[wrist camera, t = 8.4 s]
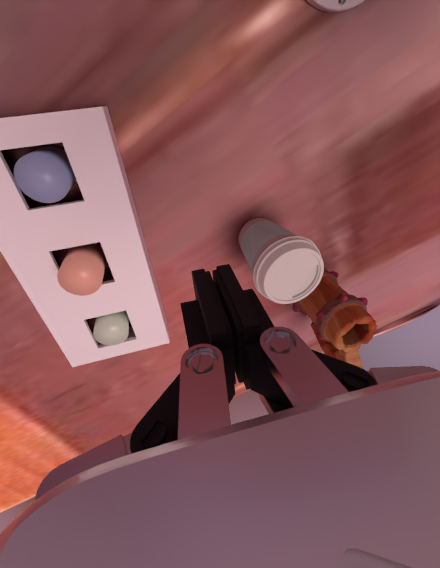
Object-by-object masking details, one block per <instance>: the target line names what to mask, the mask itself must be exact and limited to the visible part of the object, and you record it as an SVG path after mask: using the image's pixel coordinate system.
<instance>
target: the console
mask: <svg viewBox="0 0 440 568" xmlns="http://www.w3.org/2000/svg"><path fill="white" fill-rule="evenodd" d="M60 142H62V143H63V146H64V148H65V151H66V154H67V156H68V159H69V161H70V164H71V167H72V169H73V172H74V175H75V177H76V180H77V183H78V185H79V188H80V190H81V193H82V196H83V198H84V200H79V201H73V202H67V203H61V204H55V205H49V206H42V207H36V208H29V206H28V204H27V202H26V200H25V198H24V196H23V194H22V192H21V190H20V188H19V186H18V185H17V183H16V180H15V178H14V177H13V175H12V173H11V171H10V169H9V167H8V165H7V163H6V161H5V159H4V157H3V155H2V153H1V151H0V251H1V253H2V255H3V256H4V258H5V259H6V261H7V263H8V264H9V266H10V267H11V269H12V271H13V272H14V274H15V275H16V277H17V279H18V280H19V282H20V284H21V285H22V287H23V288H24V290H25V292H26V293H27V295H28V296H29V298H30V300H31V301H32V303H33V304H34V306H35V308H36V309H37V311H38V312H39V314H40V316H41V317H42V319H43V320H44V322H45V324H46V325H47V327H48V329H49V330H50V332H51V333H52V335H53V337H54V338H55V340H56V341H57V343H58V345H59V346H60V348H61V349H62V351H63V353H64V354H65V356H66V357H67V359H68V361H69V362H70V364H71V365H72V367H75V366H79V365H83V364H87V363H91V362H95V361H99V360H103V359H107V358H111V357H115V356H119V355H123V354H127V353H131V352H135V351H139V350H143V349H147V348H151V347H155V346H159V345H163V344H167V343H170V340H169V333H168V326H167V320H166V317H165V313H164V309H163V306H162V302H161V298H160V295H159V291H158V288H157V284H156V280H155V277H154V273H153V270H152V266H151V262H150V259H149V255H148V251H147V248H146V244H145V241H144V237H143V233H142V230H141V226H140V222H139V219H138V215H137V212H136V208H135V204H134V201H133V197H132V194H131V190H130V186H129V183H128V179H127V175H126V172H125V168H124V165H123V161H122V157H121V154H120V150H119V146H118V143H117V139H116V136H115V132H114V128H113V125H112V121H111V118H110V114H109V110H108V107H107V106H102V107H93V108H85V109H76V110H67V111H59V112H50V113H41V114H32V115H24V116H15V117H6V118H0V150H6V149H14V148H22V147H29V146H37V145H45V144H52V143H60ZM97 242H100V243H101V246H102V248H103V251H104V254H105V256H106V259H107V262H108V264H109V267H110V269H111V272H112V275H113V277H114V280H110V281H105V282H102V285H101V287H100V288H99V290H97V291H96V292H95V293H93V294H90V295H85V296H79V295H74V294H71V293H69V292H67V291H66V290H64V289H63V288H62V287H61V286H60V284H59V282H58V279H57V274H58V271H59V269H60V268H59V266H58V264H57V262H56V260H55V258H54V256H53V254H52V252H51V251H55V250H60V249H65V248H71V247H76V246H81V245H87V244H92V243H97ZM121 311H126V312H127V314H128V317H129V320H130V322H131V325H132V327H129V333H128V337H127V339H126V340H125V341H124V342H122V343H120V344H117V345H111V346H109V345H103V344H101V343H99V342H98V341H96V339H95V338H94V336H93V334H92V332H91V330H90V328H89V326H88V324H87V322H86V319H90V318H95V317H99V316H104V315H108V314H112V313H117V312H121Z"/></svg>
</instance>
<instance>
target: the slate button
mask: <svg viewBox="0 0 440 568" xmlns="http://www.w3.org/2000/svg"><path fill="white" fill-rule="evenodd" d="M14 177H15V180H16V183H17V185H18V186H19V188H20V189H21V190H22V191H23V192H24V193H25V194H26V195H27V196H28V197H30V198H32V199H34V200H36V201H39V202H42V203H54V202H57V201H60V200H61V199H63V198H64V197H65V196H66V194H67V193H68V192H69V190H70V189H71V188H72V186H73V185H74V184H75V182H76V177H75V175H74V172H73V169H72V167H71V164H70V161H69V159H68V156H67V154H66V152H65V151H63V150H62V149H60V148H57V147H53V146H45V147H41V148H39V149H37V150H35V151H33V152H30V153H28V154H26V155H24V156H22V157H21V158H20V159H19V160H18V161H17V162H16V164H15V167H14Z"/></svg>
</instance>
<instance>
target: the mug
mask: <svg viewBox="0 0 440 568" xmlns="http://www.w3.org/2000/svg"><path fill="white" fill-rule="evenodd" d="M337 277H338V273H337V272H333V271H332V272H328V271H327V270H324V272H323V276H322V278H321V281H320V282H319V284H318V286H317V287H316V288H315V289H314V290H313V291H312V292H311V293H310V294H309V295H308V296H306V297H305V298H303V299H301V300H299V301H297V302H294V303H293V304H294V305H293V310H294V311H295V312H298V311H300V312H301V313H303V314H306V315H308V316H309V317H310V318H311V320H312V321H313V322H312V323H311V327H312V328H313V330H314V333H315V335H316V338H317V340H318V342H319V344H320V346H321V348H322V350H323V351H324V353H325V355H328V356H330V357H333V358H336V359H339V360H341V361H344V362H347V363H350V364H352V365H355V366H358V367H360V368H362V363H361V360H360V357H359V353H358V349H359V348H360V345H361V344H367V343H368V342H369V341H370V340H371V339H372V337H373V332H374V331H376V328H377V325H376V321H375V320H374V319H373V318H372V316H371V315H370V314H369V313H368V312H367V308H366V305H367V299H366V298H357V297H355V296H353V295H349V294H348V293H347V292H345V291H344V290H343V289H342V288H341V287H340V286H338V283H337V279H336V278H337Z"/></svg>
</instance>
